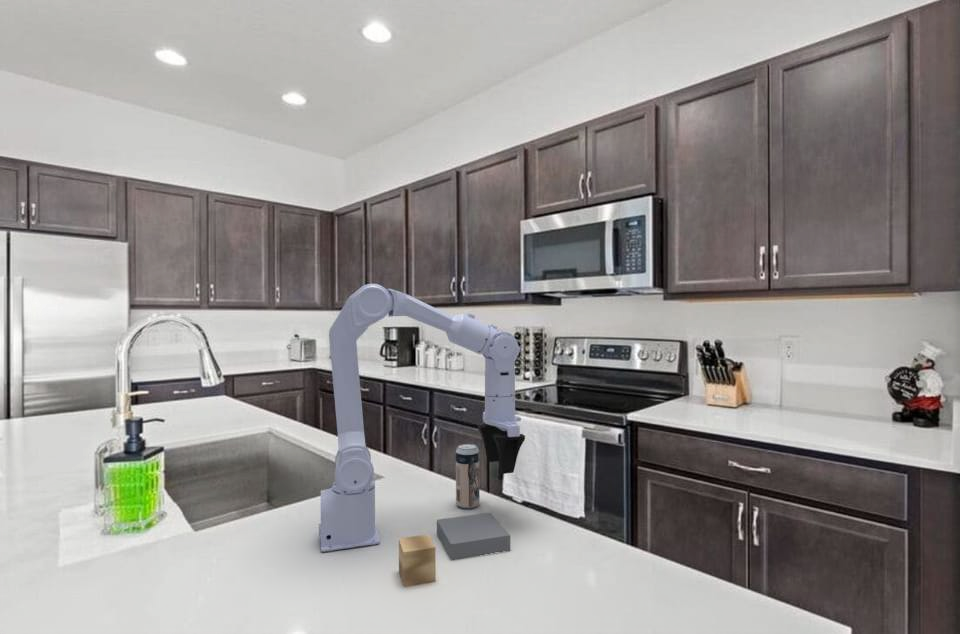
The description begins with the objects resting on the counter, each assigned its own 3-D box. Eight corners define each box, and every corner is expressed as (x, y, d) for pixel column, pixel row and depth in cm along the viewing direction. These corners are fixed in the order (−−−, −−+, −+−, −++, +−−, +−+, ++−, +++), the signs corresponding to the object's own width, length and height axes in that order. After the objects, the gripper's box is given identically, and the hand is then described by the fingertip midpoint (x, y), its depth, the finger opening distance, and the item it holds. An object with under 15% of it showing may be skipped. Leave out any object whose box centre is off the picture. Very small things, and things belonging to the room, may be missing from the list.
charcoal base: (451, 563, 77) (450, 544, 77) (436, 536, 86) (436, 519, 86) (510, 553, 80) (510, 535, 80) (490, 528, 90) (490, 512, 90)
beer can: (476, 510, 97) (476, 450, 97) (453, 509, 98) (453, 448, 98) (481, 501, 102) (481, 444, 102) (459, 500, 103) (458, 443, 103)
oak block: (403, 587, 69) (403, 552, 69) (398, 571, 74) (398, 538, 74) (435, 582, 71) (435, 547, 71) (428, 566, 75) (428, 534, 75)
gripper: (535, 399, 87) (535, 476, 87) (505, 388, 101) (506, 454, 101) (498, 401, 85) (498, 480, 85) (473, 390, 99) (473, 458, 98)
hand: (500, 466), depth 93 cm, fingers open, 7 cm apart
